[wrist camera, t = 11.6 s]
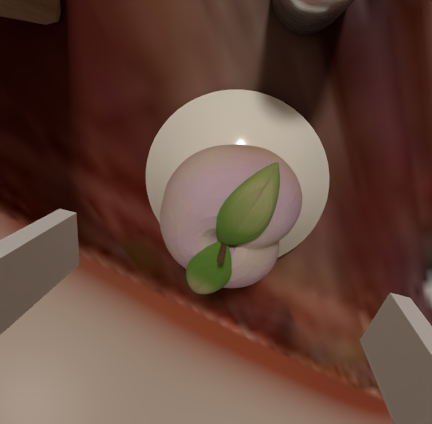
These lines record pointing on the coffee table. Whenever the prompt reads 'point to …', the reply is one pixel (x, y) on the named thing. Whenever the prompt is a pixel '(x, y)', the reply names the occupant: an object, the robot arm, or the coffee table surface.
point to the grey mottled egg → (308, 14)
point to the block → (31, 10)
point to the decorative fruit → (229, 215)
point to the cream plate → (243, 135)
